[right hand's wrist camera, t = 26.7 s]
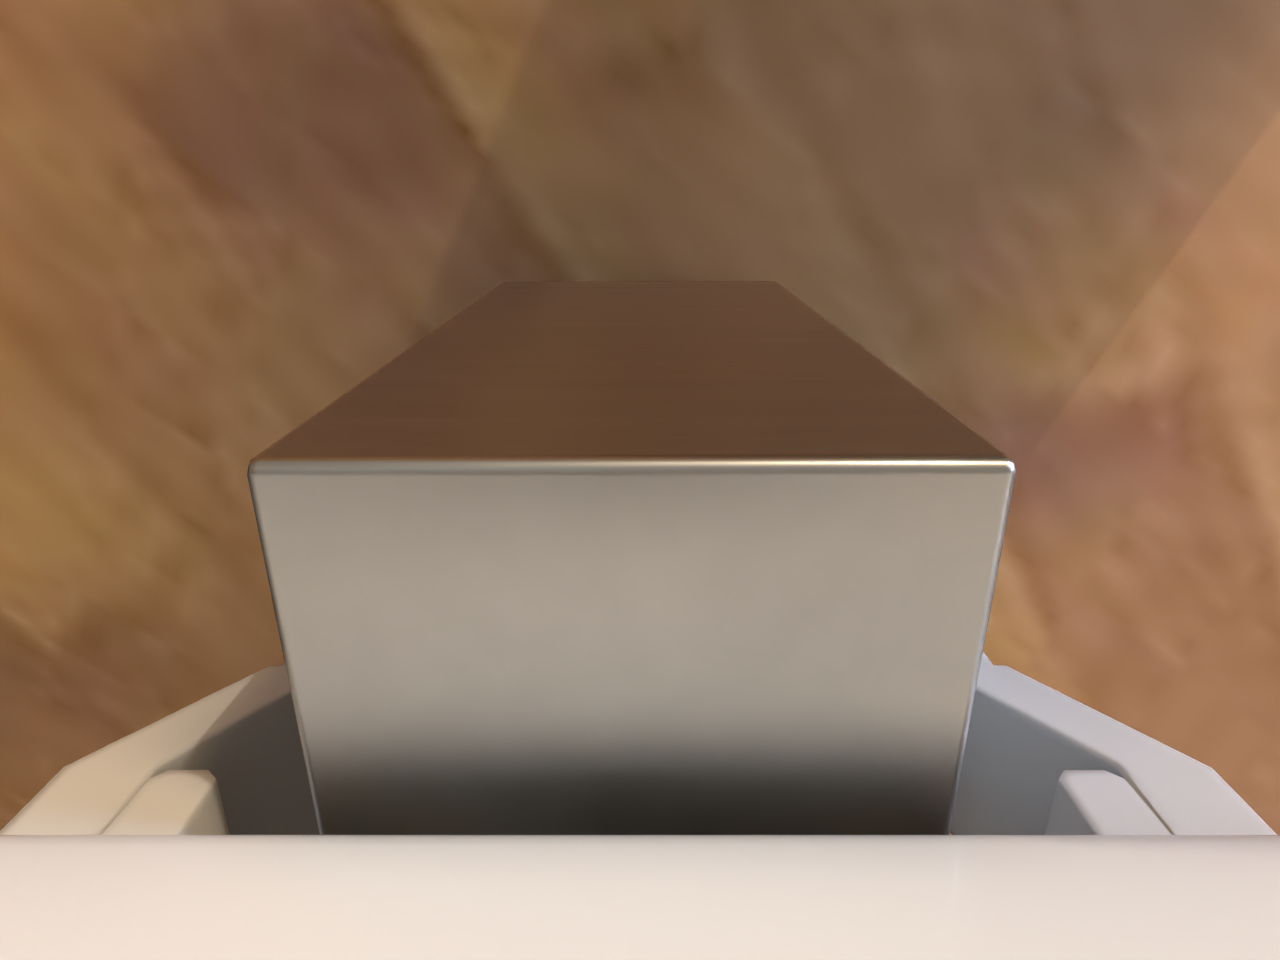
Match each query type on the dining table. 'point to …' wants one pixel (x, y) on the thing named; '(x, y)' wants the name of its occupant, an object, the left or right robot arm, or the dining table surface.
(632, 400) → the block
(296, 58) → the dining table surface
